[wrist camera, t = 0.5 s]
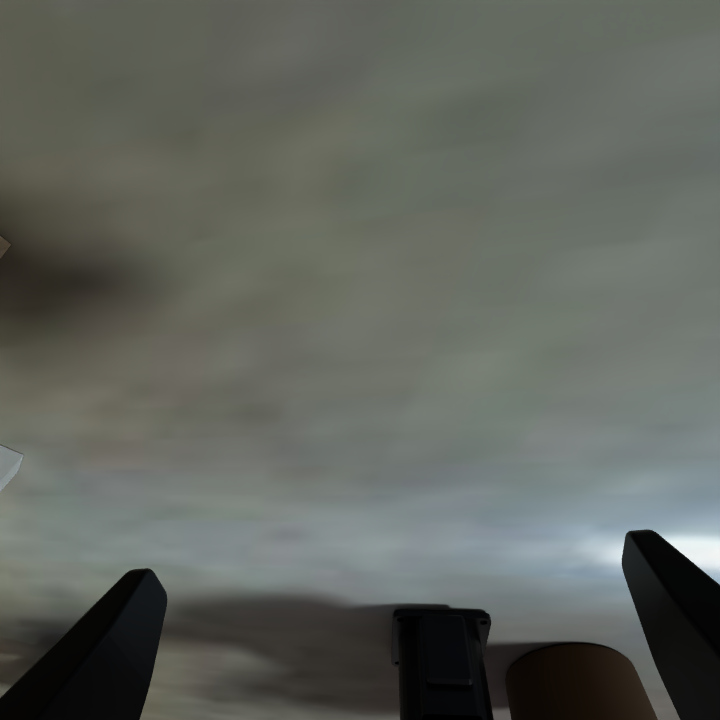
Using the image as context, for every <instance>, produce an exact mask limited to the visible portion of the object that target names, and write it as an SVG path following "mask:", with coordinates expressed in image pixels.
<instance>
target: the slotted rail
mask: <svg viewBox="0 0 720 720" xmlns="http://www.w3.org/2000/svg"><path fill="white" fill-rule="evenodd" d="M23 456H24V455H23V454H20V453H18V452H15V451H13V450H11V449H8V448H6V447H3V446H1V445H0V491H1V490H2V489H3V488H4V487H5V486H6V485H7V483H8V482H9V481H10V480H11V479H12V478H13V477H14V475H15V474H16V473H17V472H18V470H19V467H20V465H21V462H22V459H23Z"/></svg>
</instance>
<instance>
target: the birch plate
mask: <svg viewBox="0 0 720 720" xmlns="http://www.w3.org/2000/svg"><path fill="white" fill-rule="evenodd" d="M10 246H11V244H10V243H9V242H7V241H6V240H5V239H4V238H2V237H1V236H0V258H1V257H2V256H3V255H4V253H5V252H6V251H7V250H8V248H9V247H10Z"/></svg>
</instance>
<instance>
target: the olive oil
mask: <svg viewBox="0 0 720 720" xmlns="http://www.w3.org/2000/svg"><path fill="white" fill-rule="evenodd" d="M506 690H507V696H508V702H509V708H510V713H511V719H512V720H658V719H657V717H656V714H655V712H654V710H653V708H652V705H651V703H650V701H649V699H648V696H647V694H646V692H645V689H644V687H643V685H642V683H641V680H640V678H639V676H638V674H637V672H636V670H635V667H634V666H633V664H632V663H631V661H630V660H629V659H628V658H627V657H625V656H624V655H622V654H621V653H619V652H617V651H615V650H613V649H610V648H606V647H603V646H598V645H591V644H565V645H558V646H552V647H548V648H544V649H541V650H538V651H535V652H533V653H530V654H528V655H526V656H524V657H523V658H521V659H520V660H518V661H517V662H516V663H515V664H514V665H513V666H512V667H511V668H510V670H509V671H508V673H507V676H506Z"/></svg>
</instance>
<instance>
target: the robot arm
mask: <svg viewBox="0 0 720 720" xmlns="http://www.w3.org/2000/svg"><path fill="white" fill-rule="evenodd" d="M622 568H623V573H624V576H625V579H626V582H627V584H628V587H629V590H630V593H631V596H632V599H633V602H634V605H635V608H636V611H637V613H638V616H639V619H640V622H641V625H642V628H643V631H644V634H645V637H646V640H647V643H648V645H649V648H650V651H651V654H652V657H653V659H654V662H655V665H656V667H657V669H658V672H659V674H660V676H661V679H662V681H663V683H664V685H665V687H666V689H667V692H668V694H669V696H670V698H671V700H672V702H673V705H674V707H675V709H676V711H677V713H678V715H679V718H680V720H720V585H719V584H718V583H717V582H716V581H714V580H713V579H712V578H711V577H710V576H708V575H707V574H706V573H705V572H703V571H702V570H701V569H700V568H699V567H697V566H696V565H695V564H694V563H693V562H691V561H690V560H689V559H688V558H687V557H685V556H684V555H683V554H682V553H680V552H679V551H678V550H677V549H676V548H674V547H673V546H672V545H671V544H670V543H668V542H667V541H666V540H665V539H663V538H662V537H661V536H660V535H659V534H657V533H656V532H654V531H652V530H635V531H629V532H628V533H627V534H626V536H625V542H624V549H623V555H622ZM166 607H167V594H166V591H165V589H164V588H163V586H162V585H161V583H160V581H159V580H158V578H157V576H156V575H155V573H154V572H153V571H152V570H151V569H148V568H146V569H134V570H131V571H129V572H127V573H126V574H125V575H124V576H123V577H122V578H121V579H120V580H119V581H118V582H117V583H116V584H115V585H114V586H113V587H112V588H111V589H110V590H109V591H108V592H107V593H106V594H105V595H104V596H103V597H102V598H101V599H100V600H99V601H98V602H97V603H96V604H95V605H93V606H92V607H91V608H90V609H89V610H88V611H87V612H86V613H85V614H84V615H83V616H82V617H81V618H80V619H79V620H78V621H77V622H76V623H75V624H74V625H73V626H72V627H71V628H70V629H69V630H68V631H67V632H66V633H65V634H64V635H63V636H62V637H61V638H60V639H59V640H58V641H57V642H56V643H55V644H54V645H53V646H52V647H51V648H50V649H49V650H48V651H47V652H46V653H45V654H44V655H43V656H42V657H41V658H40V659H39V660H38V661H37V662H36V663H35V664H34V665H33V666H32V667H31V668H30V669H29V670H28V671H27V672H26V673H25V674H24V675H23V676H22V677H21V678H20V679H19V680H18V681H17V682H16V683H15V684H14V685H13V686H12V687H11V688H10V689H9V690H8V691H7V692H6V693H5V694H4V695H3V696H2V697H1V698H0V720H139V719H140V716H141V713H142V709H143V706H144V703H145V700H146V696H147V693H148V689H149V686H150V681H151V677H152V673H153V668H154V664H155V659H156V654H157V649H158V645H159V640H160V635H161V631H162V626H163V621H164V616H165V612H166ZM490 626H491V619H490V615H489V614H488V613H484V612H453V611H422V610H397V611H395V612H394V613H393V631H392V665H394V666H397V667H399V697H400V720H494V719H493V713H492V707H491V701H490V695H489V689H488V683H487V677H486V671H485V665H484V659H483V657H484V653H485V648H486V644H487V639H488V635H489V630H490Z"/></svg>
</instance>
